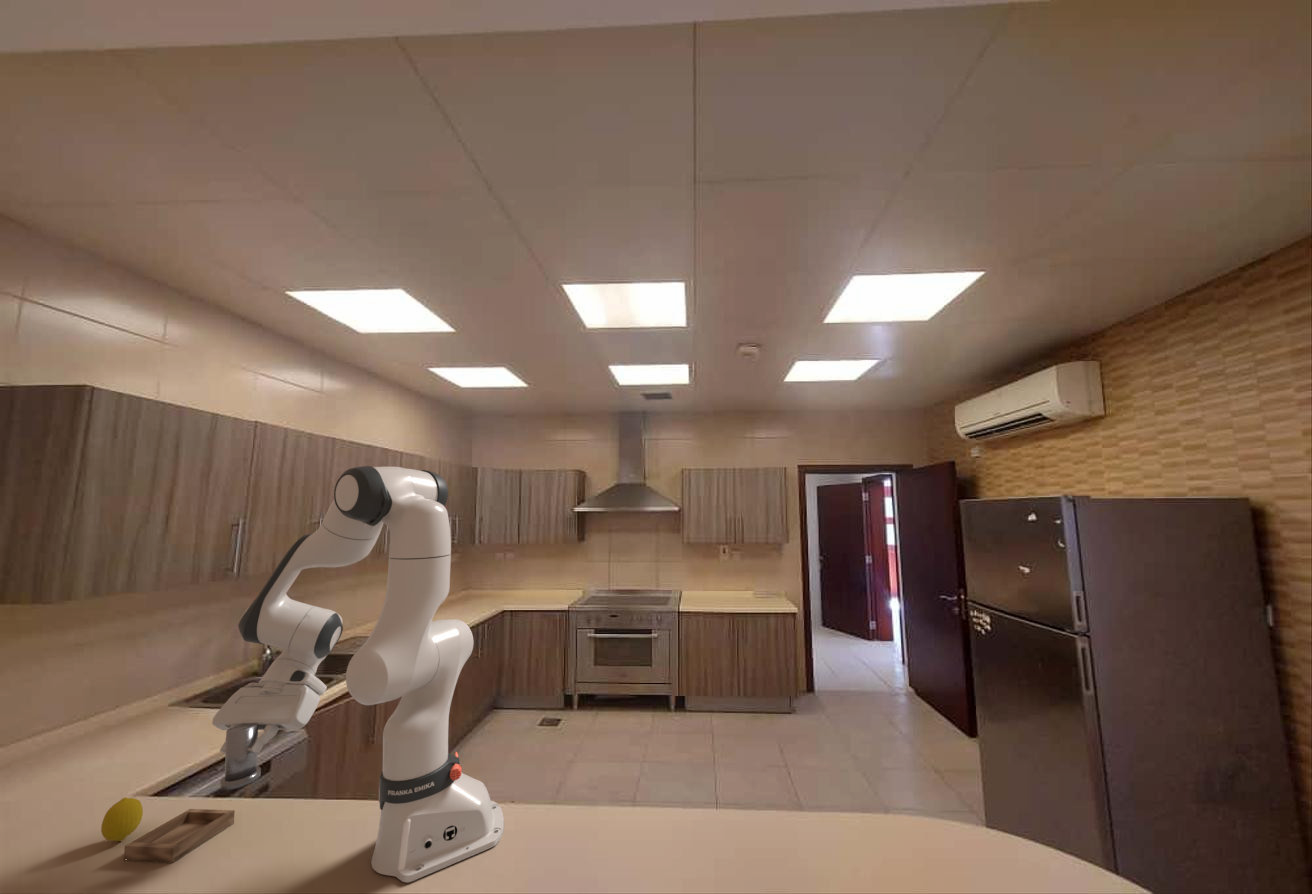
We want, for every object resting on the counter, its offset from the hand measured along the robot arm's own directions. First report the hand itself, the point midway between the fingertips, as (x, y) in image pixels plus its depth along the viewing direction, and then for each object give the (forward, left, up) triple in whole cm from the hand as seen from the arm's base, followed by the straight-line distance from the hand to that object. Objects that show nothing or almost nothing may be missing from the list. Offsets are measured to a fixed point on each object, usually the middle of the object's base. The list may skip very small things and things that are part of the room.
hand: (238, 752), depth 94 cm
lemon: (+23, -13, -17) cm, 31 cm away
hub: (0, -1, -6) cm, 6 cm away
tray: (+11, -7, -17) cm, 21 cm away
